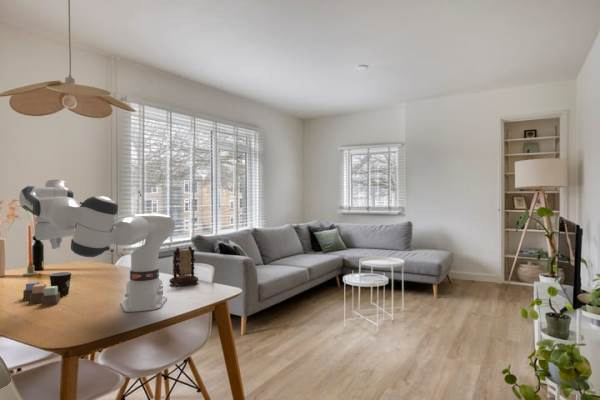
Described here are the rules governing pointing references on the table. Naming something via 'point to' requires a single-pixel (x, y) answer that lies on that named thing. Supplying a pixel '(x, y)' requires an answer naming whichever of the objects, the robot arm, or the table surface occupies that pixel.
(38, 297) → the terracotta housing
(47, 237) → the robot arm
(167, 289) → the table surface
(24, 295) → the slate housing
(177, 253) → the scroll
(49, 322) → the table surface
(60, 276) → the coffee mug
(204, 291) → the table surface
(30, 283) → the slate cap
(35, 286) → the terracotta cap
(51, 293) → the sage cap
